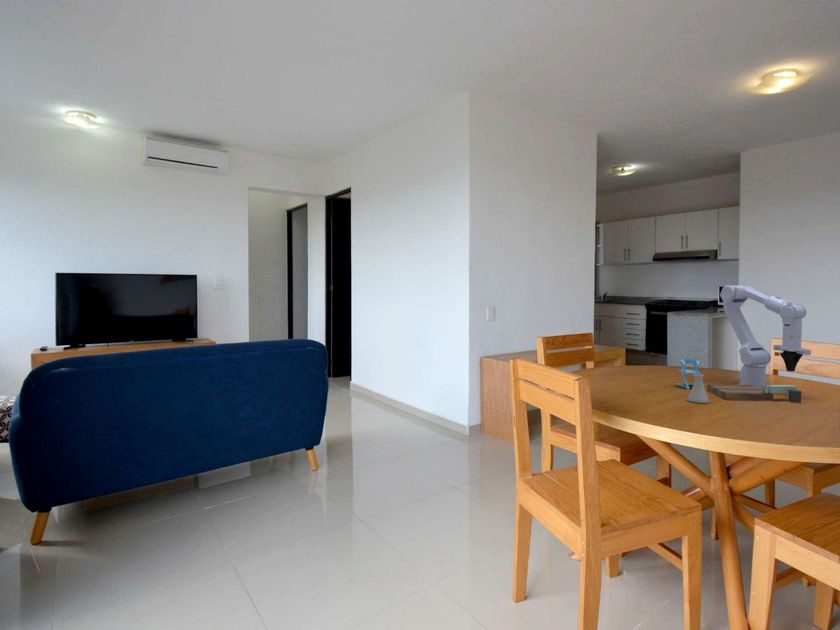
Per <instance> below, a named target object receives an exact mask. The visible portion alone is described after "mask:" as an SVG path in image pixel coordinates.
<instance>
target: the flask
mask: <svg viewBox="0 0 840 630" xmlns="http://www.w3.org/2000/svg"><path fill="white" fill-rule="evenodd" d="M693 376H694V382H693V384H694V385H693V386H692V388H691V389H690V392H689V394H688V397H687V401H688V402H691V403H697V404H709V403H710V400H709V397H708V395H707V392H706V389H705V386H704V374H701V373H700V374H693Z"/></svg>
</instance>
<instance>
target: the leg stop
mask: <svg viewBox="0 0 840 630" xmlns="http://www.w3.org/2000/svg"><path fill="white" fill-rule="evenodd" d="M789 401H790V403H792V402H801V403H802V391H801V390H798V389H797V390H789V393H788V402H789Z"/></svg>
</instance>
